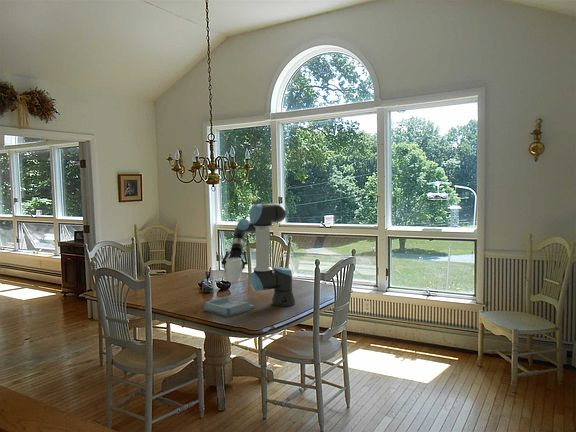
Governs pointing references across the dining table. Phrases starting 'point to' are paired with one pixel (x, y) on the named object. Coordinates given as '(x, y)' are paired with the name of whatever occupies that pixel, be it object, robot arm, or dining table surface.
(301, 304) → the dining table surface
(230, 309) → the tray
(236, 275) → the jar
